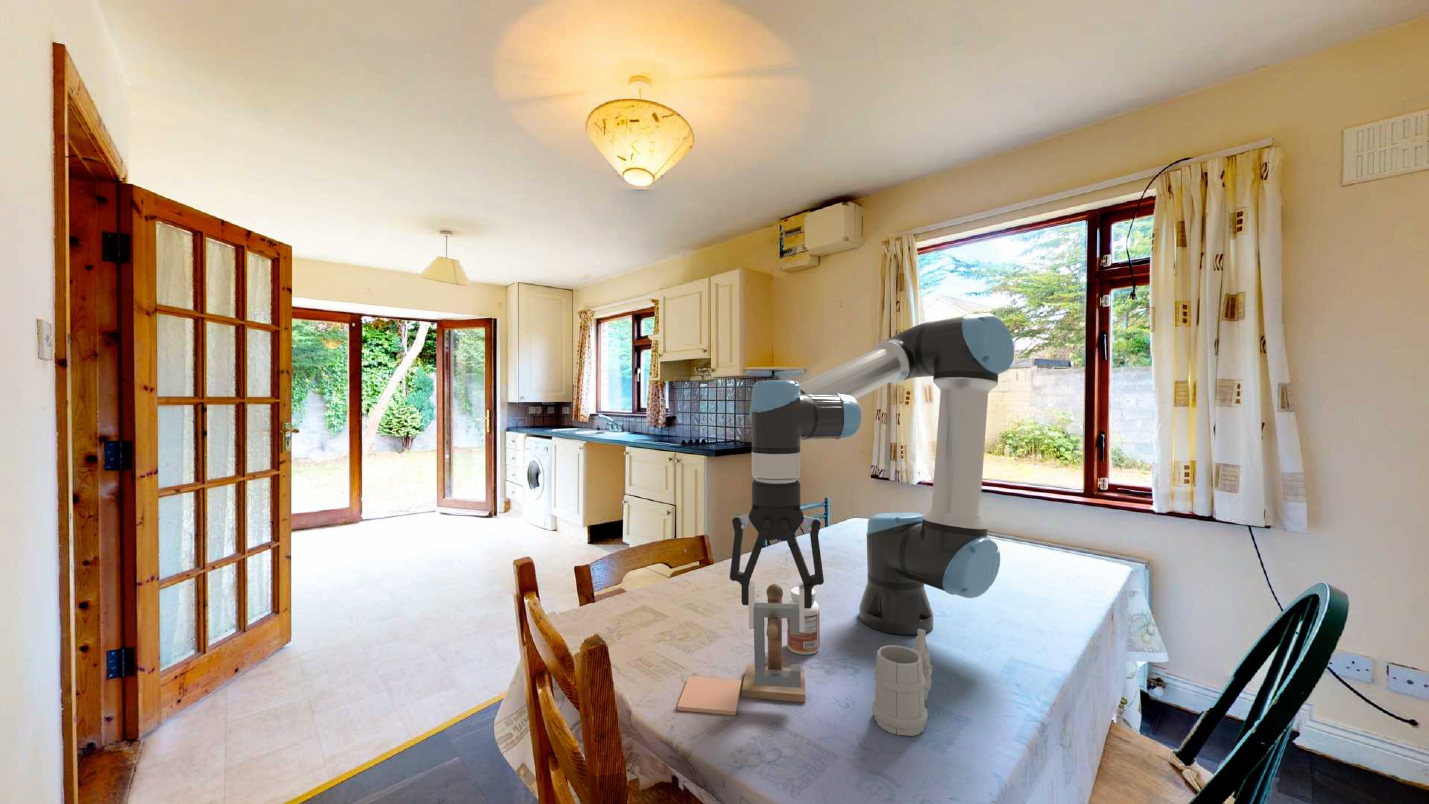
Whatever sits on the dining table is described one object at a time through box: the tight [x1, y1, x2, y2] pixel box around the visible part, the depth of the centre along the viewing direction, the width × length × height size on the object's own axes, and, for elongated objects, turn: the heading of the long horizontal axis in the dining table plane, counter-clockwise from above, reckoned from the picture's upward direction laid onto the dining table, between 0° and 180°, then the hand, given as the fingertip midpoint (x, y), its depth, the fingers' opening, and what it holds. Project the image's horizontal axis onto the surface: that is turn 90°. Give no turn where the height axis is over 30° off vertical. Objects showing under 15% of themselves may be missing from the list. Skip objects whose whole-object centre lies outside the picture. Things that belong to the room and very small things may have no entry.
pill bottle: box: [786, 586, 821, 656], centre depth 100 cm, size 6×6×11 cm
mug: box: [871, 629, 933, 737], centre depth 78 cm, size 8×12×12 cm, turn 127°
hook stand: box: [741, 583, 807, 703], centre depth 84 cm, size 14×10×16 cm
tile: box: [676, 675, 743, 716], centre depth 84 cm, size 9×9×1 cm
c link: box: [753, 602, 801, 688], centre depth 81 cm, size 7×2×12 cm, turn 81°
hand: (776, 626), depth 81 cm, fingers closed on c link, 7 cm apart
